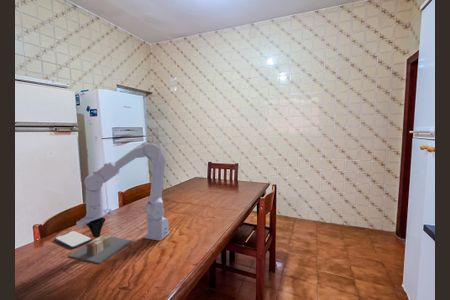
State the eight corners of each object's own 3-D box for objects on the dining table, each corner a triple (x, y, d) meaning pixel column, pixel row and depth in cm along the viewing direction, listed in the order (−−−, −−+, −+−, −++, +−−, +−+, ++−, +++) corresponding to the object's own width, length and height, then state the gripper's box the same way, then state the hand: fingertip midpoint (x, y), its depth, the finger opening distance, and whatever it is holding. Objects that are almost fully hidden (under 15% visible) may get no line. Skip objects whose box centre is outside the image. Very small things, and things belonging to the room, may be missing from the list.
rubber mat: (132, 241, 97) (132, 240, 97) (100, 263, 81) (100, 262, 81) (104, 236, 102) (104, 235, 102) (68, 256, 86) (68, 255, 86)
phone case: (93, 241, 98) (74, 233, 106) (93, 238, 98) (74, 229, 106) (72, 251, 91) (53, 241, 98) (72, 247, 90) (52, 237, 98)
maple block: (110, 236, 93) (94, 245, 85) (110, 245, 93) (94, 255, 85) (102, 234, 94) (86, 243, 86) (103, 243, 94) (86, 253, 87)
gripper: (101, 198, 95) (103, 227, 96) (69, 209, 81) (71, 244, 83) (114, 199, 93) (116, 230, 94) (83, 211, 79) (86, 247, 81)
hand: (96, 236), depth 88 cm, fingers closed
